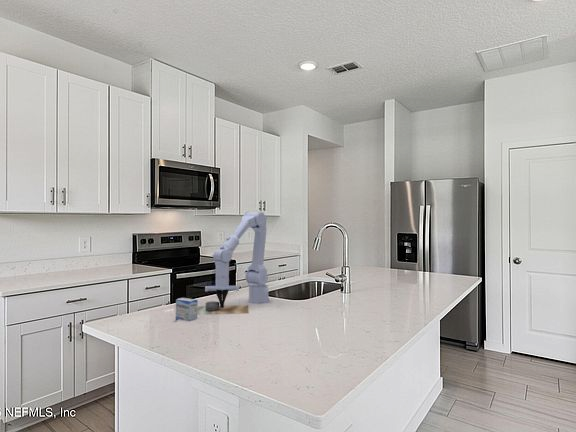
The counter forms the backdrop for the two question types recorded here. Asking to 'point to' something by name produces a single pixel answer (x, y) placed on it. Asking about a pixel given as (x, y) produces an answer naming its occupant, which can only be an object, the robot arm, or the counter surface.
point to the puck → (212, 306)
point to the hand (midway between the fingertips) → (222, 307)
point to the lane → (224, 310)
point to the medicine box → (186, 309)
